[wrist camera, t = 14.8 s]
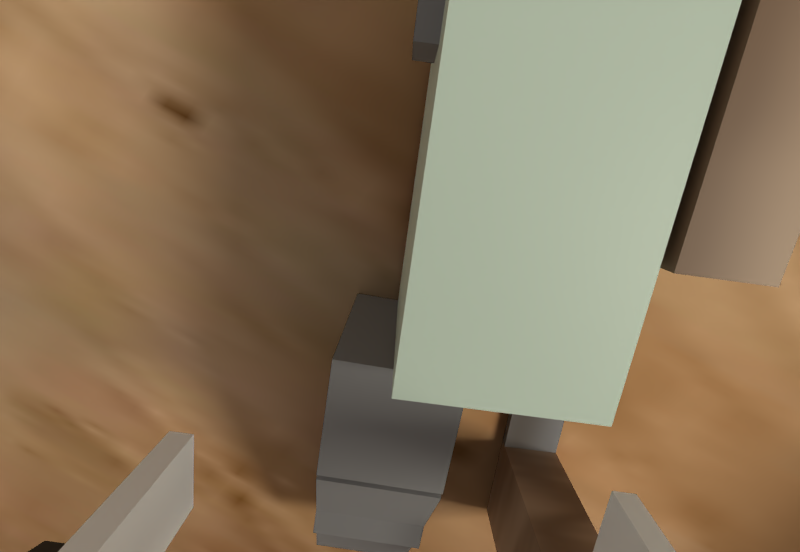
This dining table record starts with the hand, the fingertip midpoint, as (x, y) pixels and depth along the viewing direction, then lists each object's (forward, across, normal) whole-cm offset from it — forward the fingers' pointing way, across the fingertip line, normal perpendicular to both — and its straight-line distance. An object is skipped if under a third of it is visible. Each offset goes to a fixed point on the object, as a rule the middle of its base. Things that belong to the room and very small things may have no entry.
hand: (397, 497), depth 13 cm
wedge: (+11, +1, +4) cm, 12 cm away
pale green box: (+10, -3, -11) cm, 15 cm away
